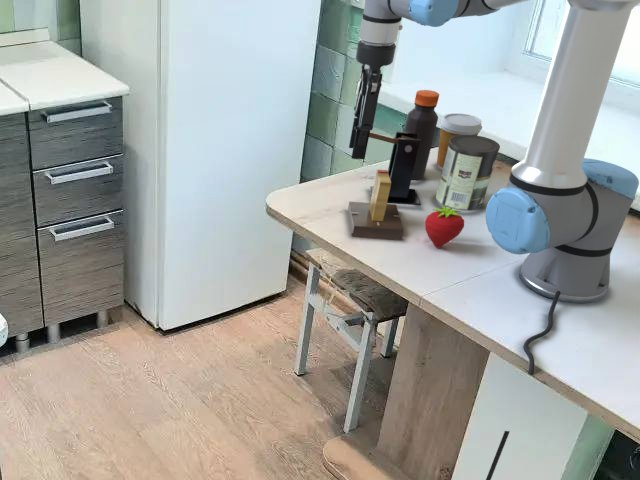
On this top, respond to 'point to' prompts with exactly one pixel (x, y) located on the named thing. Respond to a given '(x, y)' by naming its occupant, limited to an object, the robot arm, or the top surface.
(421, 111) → the bottle
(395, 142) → the door handle
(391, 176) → the bracket
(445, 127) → the disposable coffee cup
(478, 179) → the coffee can
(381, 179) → the thumb turn
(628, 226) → the top surface
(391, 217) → the plate
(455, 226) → the strawberry
